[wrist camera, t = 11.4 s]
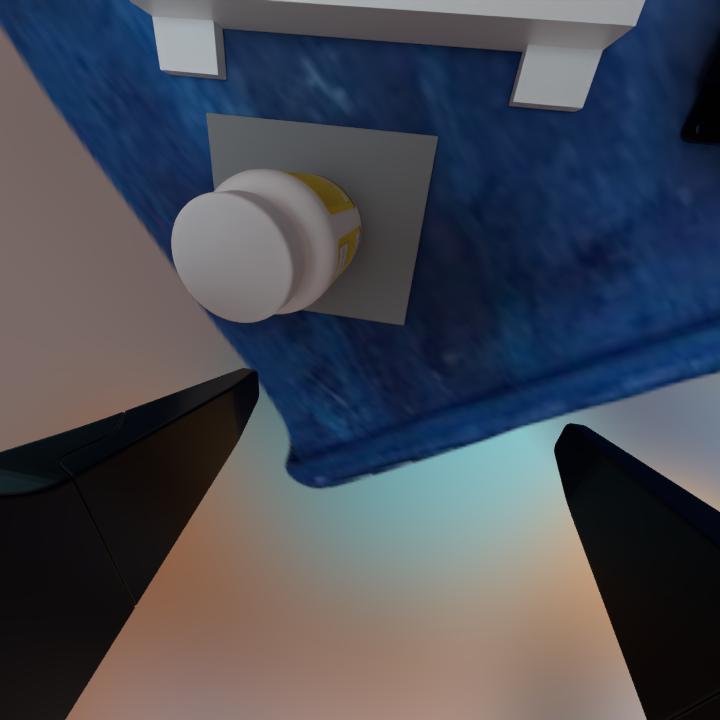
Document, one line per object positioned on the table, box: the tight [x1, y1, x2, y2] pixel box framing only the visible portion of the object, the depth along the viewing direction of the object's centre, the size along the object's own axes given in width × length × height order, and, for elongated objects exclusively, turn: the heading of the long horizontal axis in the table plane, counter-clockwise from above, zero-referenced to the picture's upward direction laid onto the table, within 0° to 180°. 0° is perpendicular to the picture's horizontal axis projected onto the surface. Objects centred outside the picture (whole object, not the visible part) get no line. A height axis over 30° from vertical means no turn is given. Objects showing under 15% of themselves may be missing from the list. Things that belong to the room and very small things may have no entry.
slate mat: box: [206, 113, 438, 325], centre depth 19 cm, size 12×10×1 cm
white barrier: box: [129, 0, 645, 112], centre depth 13 cm, size 20×5×3 cm, turn 85°
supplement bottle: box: [171, 169, 362, 323], centre depth 14 cm, size 5×5×10 cm
